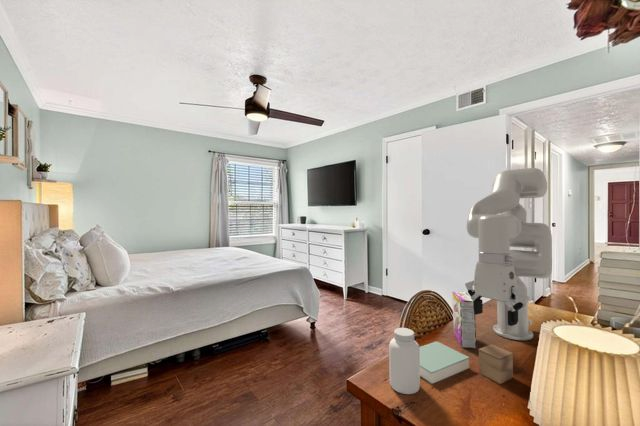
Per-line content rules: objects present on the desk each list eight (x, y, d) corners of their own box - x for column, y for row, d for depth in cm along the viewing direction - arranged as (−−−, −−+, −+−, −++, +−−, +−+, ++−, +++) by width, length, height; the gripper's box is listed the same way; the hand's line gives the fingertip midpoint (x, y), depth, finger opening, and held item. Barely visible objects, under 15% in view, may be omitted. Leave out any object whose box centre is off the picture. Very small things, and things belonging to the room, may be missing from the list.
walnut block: (491, 367, 86) (491, 344, 86) (513, 377, 80) (512, 352, 80) (478, 373, 83) (478, 349, 83) (500, 384, 77) (499, 358, 77)
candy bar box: (452, 333, 109) (451, 291, 108) (466, 334, 108) (466, 291, 107) (460, 348, 98) (460, 300, 97) (476, 349, 97) (476, 301, 96)
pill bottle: (416, 399, 72) (415, 340, 72) (385, 389, 76) (384, 333, 76) (423, 382, 79) (422, 328, 79) (394, 374, 83) (393, 323, 83)
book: (400, 364, 89) (400, 353, 89) (436, 351, 96) (436, 341, 96) (431, 385, 78) (431, 372, 78) (469, 368, 86) (469, 357, 85)
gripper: (535, 262, 75) (536, 327, 75) (473, 254, 90) (474, 308, 90) (519, 264, 72) (519, 332, 72) (457, 255, 87) (458, 311, 87)
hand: (494, 318), depth 81 cm, fingers open, 9 cm apart
